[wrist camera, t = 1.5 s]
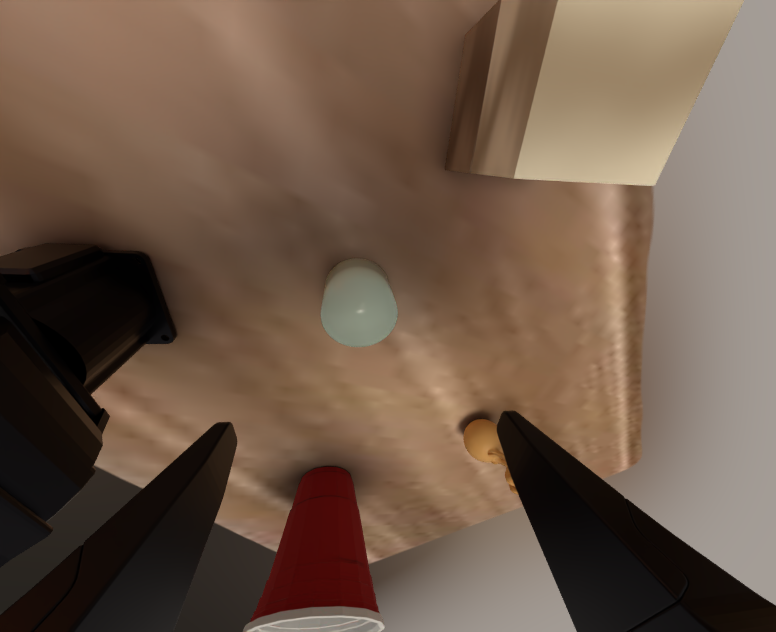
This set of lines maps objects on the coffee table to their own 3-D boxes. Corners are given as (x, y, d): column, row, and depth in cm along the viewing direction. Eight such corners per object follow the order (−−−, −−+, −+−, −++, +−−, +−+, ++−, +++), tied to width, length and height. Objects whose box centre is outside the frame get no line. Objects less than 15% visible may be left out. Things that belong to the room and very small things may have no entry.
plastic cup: (253, 487, 30) (204, 661, 20) (322, 438, 27) (309, 607, 17) (326, 516, 35) (318, 666, 25) (391, 476, 32) (412, 625, 22)
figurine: (446, 408, 28) (506, 557, 17) (503, 384, 27) (600, 524, 17) (469, 450, 32) (528, 590, 21) (518, 430, 31) (603, 565, 21)
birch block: (580, 179, 14) (654, 186, 11) (470, 173, 13) (513, 178, 10) (638, 16, 11) (765, -46, 8) (501, -4, 10) (578, -84, 7)
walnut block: (532, 176, 18) (577, 181, 14) (444, 169, 17) (468, 173, 13) (569, 52, 15) (637, 20, 11) (464, 35, 14) (503, -5, 10)
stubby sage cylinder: (386, 316, 21) (394, 346, 18) (326, 315, 21) (322, 347, 17) (391, 259, 19) (401, 281, 16) (324, 256, 18) (319, 279, 15)
